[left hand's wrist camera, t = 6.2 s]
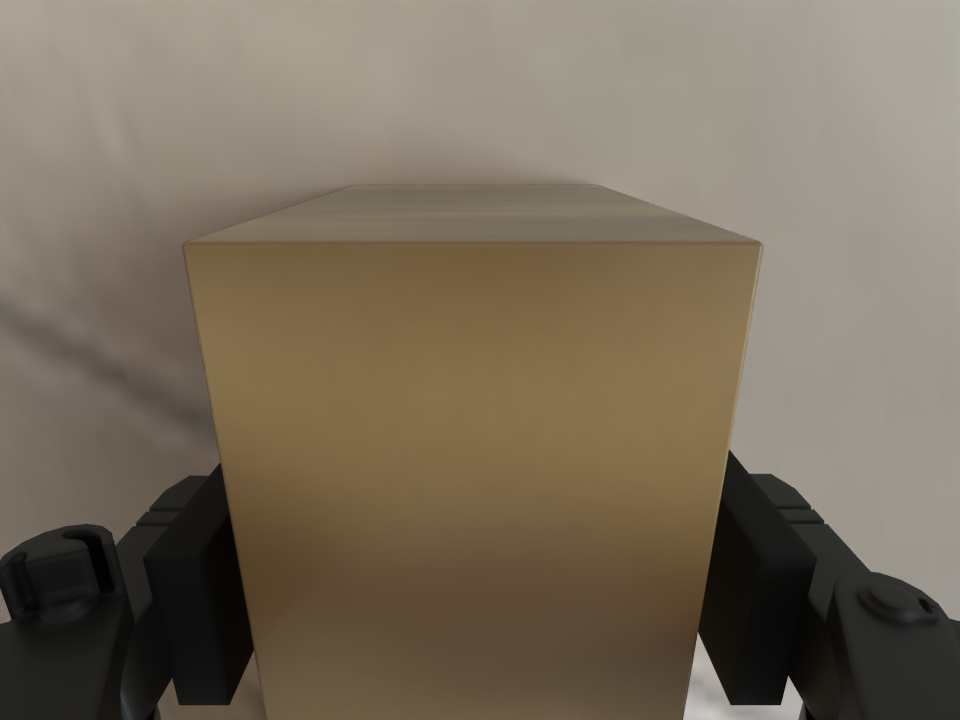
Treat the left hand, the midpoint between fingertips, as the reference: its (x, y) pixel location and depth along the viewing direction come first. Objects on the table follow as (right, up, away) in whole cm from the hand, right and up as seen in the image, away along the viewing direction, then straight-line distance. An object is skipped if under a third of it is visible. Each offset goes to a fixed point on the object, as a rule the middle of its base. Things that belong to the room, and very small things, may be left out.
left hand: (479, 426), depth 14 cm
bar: (0, -24, +10) cm, 26 cm away
